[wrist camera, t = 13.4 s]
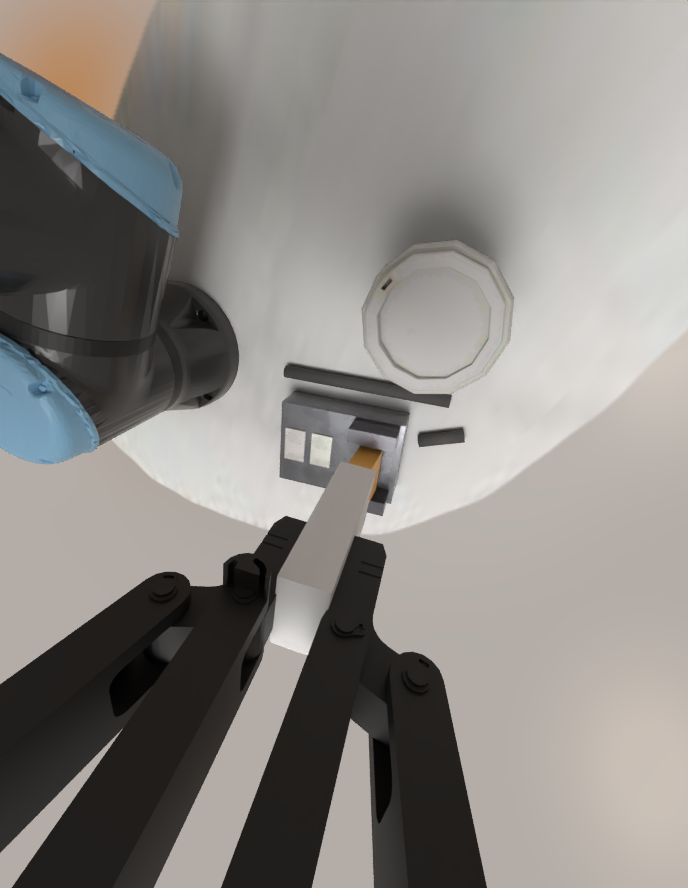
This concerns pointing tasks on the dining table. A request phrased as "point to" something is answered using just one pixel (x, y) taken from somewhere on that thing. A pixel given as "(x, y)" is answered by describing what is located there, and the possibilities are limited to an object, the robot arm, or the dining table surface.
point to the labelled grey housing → (339, 441)
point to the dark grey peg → (441, 438)
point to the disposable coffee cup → (437, 317)
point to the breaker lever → (368, 461)
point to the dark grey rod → (365, 386)
